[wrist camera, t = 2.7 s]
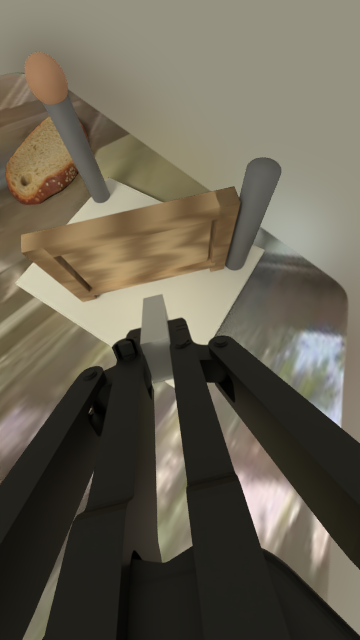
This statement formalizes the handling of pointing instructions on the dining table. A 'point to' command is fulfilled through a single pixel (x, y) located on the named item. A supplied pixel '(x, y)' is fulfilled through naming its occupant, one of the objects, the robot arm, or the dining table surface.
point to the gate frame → (114, 197)
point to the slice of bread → (40, 165)
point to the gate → (137, 244)
